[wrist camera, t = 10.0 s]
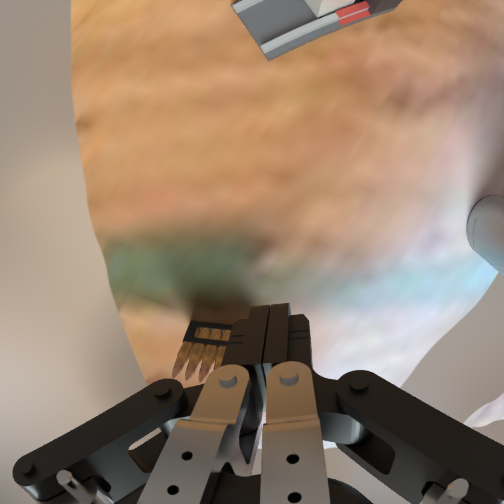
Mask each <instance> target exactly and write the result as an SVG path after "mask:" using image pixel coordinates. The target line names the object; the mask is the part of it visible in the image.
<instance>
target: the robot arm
mask: <svg viewBox="0 0 504 504" xmlns="http://www.w3.org/2000/svg"><path fill="white" fill-rule="evenodd" d="M467 237H468V241H469V244H470V246H471V247H472V249H473V250H474V251H475V252H476V253H478V254H479V255H480V256H481V257H482V258H483V259H485V260H486V261H487V262H488V263H489V264H490V265H491V266H493V267H494V268H495V269H496V270H497V271H498V272H499V273H501V274H502V275H503V276H504V199H503V198H501V197H499V196H495V195H494V196H488V197H485V198H483V199H482V200H480V201H479V202H478V203H477V204H476V205H475V207H474V208H473V210H472V212H471V214H470V216H469V220H468V224H467ZM263 411H266V424H263V429H262V424H261V420H262V412H263ZM158 427H159V428H160V430H161V431H162V432H160V433H159V434H157V435H156V436H154V437H153V438H151V439H149V440H148V441H146V442H145V443H143V444H142V445H140V446H138V447H137V448H135V449H133V450H128V449H129V447H130V446H131V445H132V444H133V443H135V442H136V441H138V440H139V439H141V438H143V437H144V436H146V435H147V434H149V433H150V432H152V431H153V430H155V429H157V428H158ZM261 431H262V462H261V463H262V464H261V474H258V475H253V476H252V470H253V465H254V461H255V457H256V452H257V448H258V444H259V440H260V435H261ZM322 440H324V441H330V442H335V443H336V445H337V447H338V448H339V449H340V450H341V451H343V452H344V453H345V454H346V455H347V456H349V457H350V458H351V459H352V460H354V461H355V462H356V463H358V464H359V465H360V466H361V467H363V468H364V469H365V470H366V471H368V472H369V473H370V474H372V475H373V476H374V477H376V478H377V479H378V480H380V481H381V482H382V483H384V484H385V485H386V486H388V487H389V488H390V489H392V490H393V491H394V492H396V493H397V494H399V495H400V496H401V497H403V498H404V499H406V500H407V501H409V502H410V503H411V504H504V445H502V444H500V443H498V442H496V441H494V440H492V439H490V438H488V437H486V436H484V435H482V434H481V433H479V432H477V431H475V430H473V429H471V428H470V427H468V426H466V425H464V424H462V423H460V422H458V421H457V420H455V419H453V418H451V417H449V416H447V415H446V414H444V413H442V412H440V411H439V410H437V409H435V408H433V407H431V406H429V405H428V404H426V403H424V402H422V401H421V400H419V399H417V398H416V397H414V396H412V395H410V394H409V393H407V392H405V391H403V390H402V389H400V388H398V387H397V386H395V385H393V384H392V383H390V382H388V381H386V380H385V379H383V378H381V377H380V376H378V375H376V374H375V373H373V372H370V371H366V370H355V371H351V372H348V373H346V374H344V375H343V376H341V377H340V378H339V379H338V380H334V379H328V378H324V377H322V376H320V375H318V374H317V373H316V372H315V371H314V370H313V366H312V348H311V336H310V325H309V320H308V319H307V318H306V317H305V315H304V314H298V315H291V310H290V304H289V303H283V304H272V305H271V306H270V305H262V306H252V307H251V309H250V314H249V318H248V319H239V320H238V321H237V322H236V324H235V325H234V326H233V327H232V329H231V332H230V337H229V339H228V344H227V346H226V349H225V353H224V356H223V359H222V363H221V366H220V367H219V368H217V369H215V370H213V371H212V372H211V373H210V374H209V376H208V377H207V380H206V382H205V383H204V384H201V385H197V386H193V387H188V388H183V386H182V384H181V383H180V382H179V381H177V380H175V379H161V380H158V381H155V382H154V383H152V384H150V385H149V386H147V387H145V388H144V389H142V390H140V391H139V392H137V393H136V394H134V395H132V396H130V397H129V398H127V399H125V400H124V401H122V402H120V403H119V404H117V405H115V406H114V407H112V408H110V409H109V410H107V411H105V412H103V413H102V414H100V415H98V416H96V417H95V418H93V419H91V420H89V421H87V422H86V423H84V424H82V425H81V426H79V427H77V428H75V429H73V430H71V431H70V432H68V433H66V434H64V435H62V436H60V437H58V438H57V439H55V440H53V441H51V442H49V443H47V444H45V445H43V446H42V447H40V448H38V449H36V450H34V451H32V452H30V453H28V454H26V455H24V456H23V457H21V458H20V459H19V460H18V461H17V462H16V463H15V465H14V468H13V478H14V480H15V482H16V483H17V484H18V485H20V486H21V487H22V488H23V489H24V490H25V491H26V492H27V493H29V494H30V496H31V497H32V498H33V499H34V500H35V501H36V502H37V504H373V503H372V502H371V501H369V500H368V499H367V498H366V497H365V496H364V495H362V494H361V493H360V492H359V491H358V490H356V489H355V488H353V487H351V486H350V485H348V484H346V483H344V482H341V481H338V480H336V479H331V478H327V471H326V464H325V456H324V448H323V441H322Z"/></svg>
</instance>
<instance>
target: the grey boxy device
mask: <svg viewBox="0 0 504 504" xmlns="http://www.w3.org/2000/svg"><path fill="white" fill-rule="evenodd" d="M401 1H402V0H355V1H354V3H353V5H351V6H349V7H346V8H343V9H340V10H338V11H335V12H332V13H330V14H327V15H325V16H322V17H320V18H317V17H316V16H315V14H314V13H313V12H312V10H311V9H310V7H309V6H308V5H307V3H306V2H305V1H304V0H239V1H237V2H235V3H233V4H231V6H232V8H233V10H234V11H235V12H236V14H237V15H238V17H239V18H240V19H241V21H242V22H243V24H244V25H245V27H246V28H247V29H248V31H249V32H250V34H251V35H252V37H253V38H254V40H255V41H256V43H257V44H258V46H259V47H260V49H261V50H262V52H263V53H264V55H265V57H266V58H267V60H268V61H271V60H273V59H275V58H277V57H279V56H281V55H283V54H285V53H287V52H289V51H291V50H293V49H295V48H297V47H300V46H302V45H304V44H306V43H308V42H311V41H313V40H315V39H318V38H320V37H322V36H325V35H327V34H329V33H332V32H334V31H337V30H339V29H342V28H344V27H347V26H350V25H352V24H355V23H358V22H360V21H363V20H366V19H369V18H372V17H375V16H378V15H381V14H384V13H387V12H390V11H393V10H395V8H396V7H397V5H398V4H399V3H400V2H401Z"/></svg>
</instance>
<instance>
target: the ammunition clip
mask: <svg viewBox="0 0 504 504" xmlns="http://www.w3.org/2000/svg"><path fill="white" fill-rule="evenodd" d="M233 326H234V325H225V324H215V323H205V322H196V321H190V324H189V326H188V329H187V331H186V334H185V336H184V339H183V344H182V346H181V348H180V350H179V352H178V355H177V359H176V362H175V365H174V368H173V372H172V377H173V378H176V377H177V376H178V375H179V373H180V372H181V370H182V369H183V367H184V365H185V363H186V362H187V360H188V359H189V357H190V359H189V363H188V366H187V369H186V374H185V378H186V381H187V380H189V379H190V378H191V377H192V376H193V374H194V372H195V370H196V368H197V366H198V364H199V363H200V361H201V359H202V364H201V368H200V372H199V382H200V383H201V382H203V381H204V379H205V378H206V377H207V375H208V372H209V370H210V368H211V366H212V364H213V363H214V360H215V365H214V370H215V369H217V368H219V367H220V366H221V363H222V359H223V356H224V353H225V349H226V346H227V344H228V339H229V337H230V332H231V329H232V327H233ZM206 346H207V347H206ZM190 354H191V355H190ZM203 354H204V355H203ZM216 354H217V355H216ZM202 357H203V358H202ZM215 357H216V358H215Z"/></svg>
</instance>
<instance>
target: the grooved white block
mask: <svg viewBox="0 0 504 504" xmlns="http://www.w3.org/2000/svg"><path fill="white" fill-rule="evenodd" d="M304 1H305V2H306V3H307V5H308V6H309V7H310V9H311V10H312V12H313V13H314V14H315V16H316V17H317V18H320V17H322V16H325V15H327V14H330V13H332V12H335V11H338V10H340V9H343V8H346V7H349V6H351V5H353V3H354V1H355V0H304Z"/></svg>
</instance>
